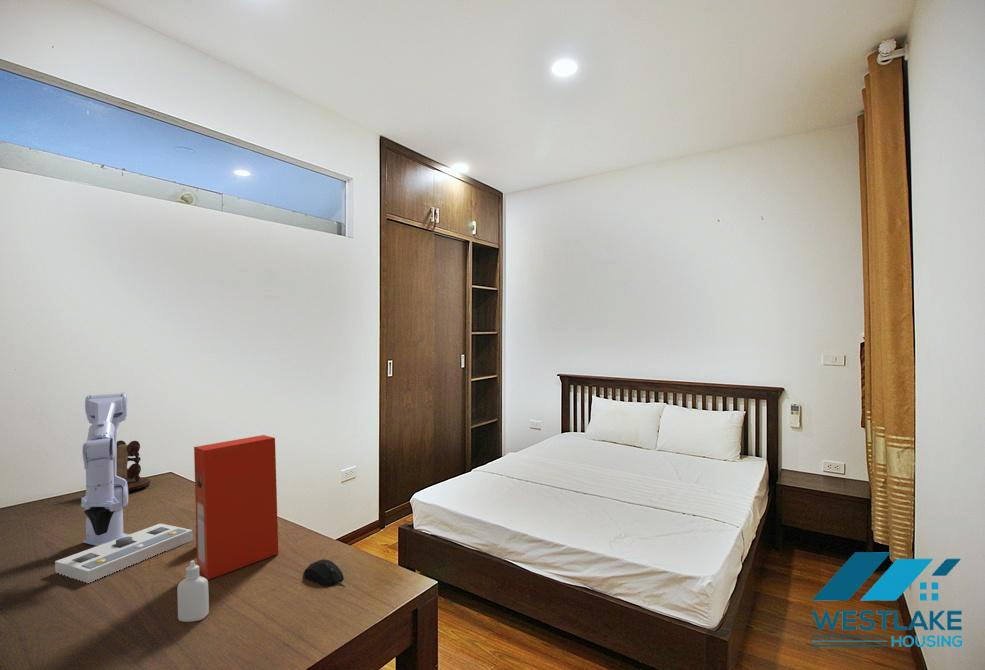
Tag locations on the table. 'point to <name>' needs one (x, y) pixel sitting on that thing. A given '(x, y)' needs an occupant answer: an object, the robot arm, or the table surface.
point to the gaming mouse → (324, 573)
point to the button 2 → (157, 531)
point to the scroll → (134, 470)
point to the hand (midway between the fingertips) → (101, 533)
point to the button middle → (123, 542)
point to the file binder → (235, 504)
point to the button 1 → (85, 558)
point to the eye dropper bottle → (193, 595)
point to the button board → (122, 553)
